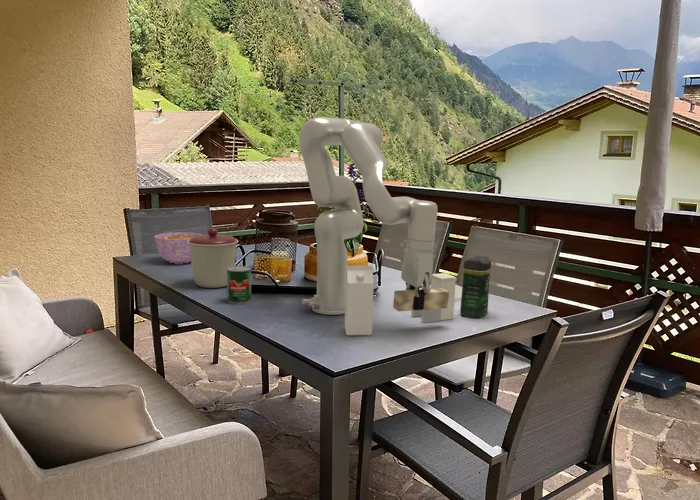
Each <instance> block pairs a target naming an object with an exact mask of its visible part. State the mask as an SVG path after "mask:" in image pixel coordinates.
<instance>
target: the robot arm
mask: <svg viewBox="0 0 700 500" xmlns="http://www.w3.org/2000/svg"><path fill="white" fill-rule="evenodd" d="M298 135H299V136H298V146H299V150H300V151H299V152H300V153H301V156H302V159H303V162H304V166H305V171H306V174H307V179H308V184H309V187H310V188H309V189H310V193H311V197H312V200H313V202H314V203H315V205H316V206H318V207H320V208H329V207H334V209H335V210H334V209H333V210H328V211H324V212H322V213H321V214H319V215H318V217H316V219H315V220H314V228H313V229H314V235H315V241H316V252H317V253H316V259H317V260H316V263H317V266H316V294H314V295H313V297H311V298H303V299H301V304H302V306H308V307H311V310H312V312H314V313H316V314H320V315H326V316H328V315H329V316H331V315H332V316H334V315H335V316H336V315H337V316H338V315H339V316H340V315H345V290H346V272H347V266H348V262H349V261H348V256H349V255H348V250H347V246H346V244H345V241H344V240H349V239H352V238H353V239H354V238H356V237H358V236H359V235H360V234H362V231H363V228H364V215H363V212H362V208H361V204H360V203H361V202H360V199H359V194H358V190H357V187H356V185H355V183H354V181H352V179H351V178H349V177H347V176H344V175H337V174H336V172H335V168H334V163H333V160H332V158H331V156H330V154H329V152H328V151H327V150H326V148H325V147H327V146H329V147H330V146H331V147H333V146H334V147H336V146H338V147H344V149H345V151H346V152H347V154H348V156H349V157H350V160H352V162H353V164H354V165H355V167H356V169H357V170H358V173H359V174H360V176H361V177H362V190H363V191H362V192H363V196H364V200H365V202H366V203H367V205H368V207H369V209H370V210H371V212H372V213H373V215H374V217H376V219H377V220H378V221H379V222H380V223H381V224H383V225H387V226H393V225H398V224H404V223H406V224H407V223H408V229H407V240H406V241H407V242H406V248H405V251H404V255H403V260H402V266H401V276H400V277H401V279H402V281H404V282H405V285H406V287H405V290H416V296H414V302H413V310H423V309H424V299H425V297H426V294H427V293H428V292H430V291H431V282H432V275H433V274H434V273H433V271H434V270H433V269H434V254H433V253H434V248H435V239H436V238H435V237H436V229H437V228H436V227H437V219H438V205H437V203H436V202H433V201H430V200H422V199H421V200H420V199H416V198H413V197H409V196H395V197H392V196H391V195H390V193H389V191H388V190H387V188H386V186H385V184H384V181H383V173H384V172H385V171H386V169H387V167H388V165H389V163H388V160H387V158H386V157H385V156H384V154H383V152H382V151H381V146H382V144H383V141H384V138H383V136H384V135H383V133H382V131H381V129H380V128H379V127H378V126H377V125H375V124H373V123H369V122H362V121H359V120H358V121H357V120H352V119H347V118H339V117H326V116H317V117H312V118H310V119H308V120H307V121H305V123H304V124H303V125H302V127H301V128H300V131H299V134H298ZM420 289H421V290H420ZM419 290H420V291H419Z"/></svg>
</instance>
